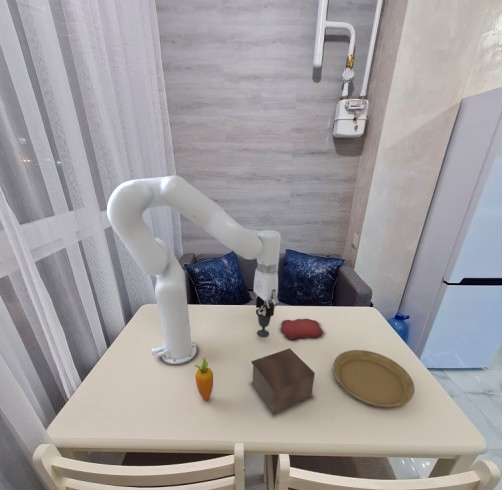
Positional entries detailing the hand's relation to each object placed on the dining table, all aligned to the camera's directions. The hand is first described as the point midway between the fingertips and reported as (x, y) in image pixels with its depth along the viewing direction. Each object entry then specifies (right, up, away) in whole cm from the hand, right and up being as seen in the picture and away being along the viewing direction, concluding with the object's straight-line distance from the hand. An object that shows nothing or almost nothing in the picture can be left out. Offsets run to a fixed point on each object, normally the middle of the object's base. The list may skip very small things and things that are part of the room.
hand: (264, 311), depth 98 cm
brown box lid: (+4, -15, -20) cm, 26 cm away
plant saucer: (+34, -22, -13) cm, 42 cm away
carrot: (-18, -25, -20) cm, 37 cm away
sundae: (0, -9, +5) cm, 11 cm away
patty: (+16, -9, +14) cm, 23 cm away
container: (+4, -23, -16) cm, 29 cm away
